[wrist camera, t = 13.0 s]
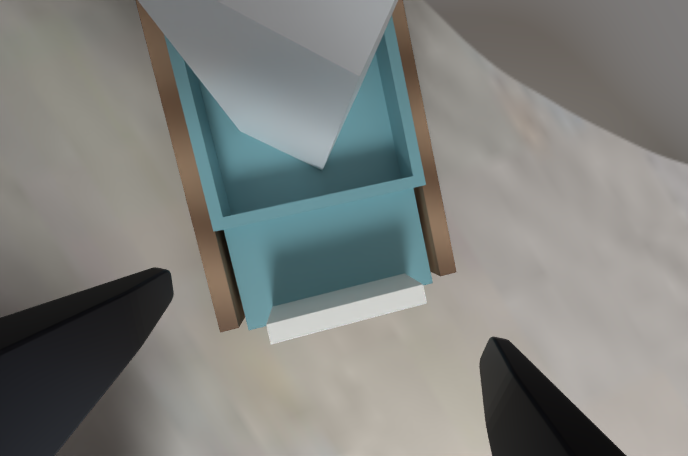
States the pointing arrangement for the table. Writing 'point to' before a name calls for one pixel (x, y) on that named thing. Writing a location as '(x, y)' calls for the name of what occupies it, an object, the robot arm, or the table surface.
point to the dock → (215, 242)
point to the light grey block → (279, 62)
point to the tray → (317, 207)
